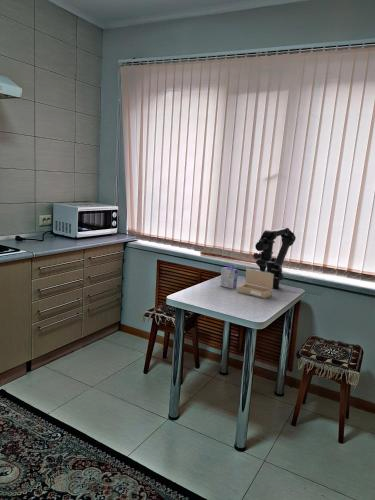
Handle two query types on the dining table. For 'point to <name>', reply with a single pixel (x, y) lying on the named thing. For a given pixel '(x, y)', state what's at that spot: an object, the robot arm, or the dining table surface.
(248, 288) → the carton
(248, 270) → the flap
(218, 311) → the dining table surface
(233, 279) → the ink cartridge box
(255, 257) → the robot arm
